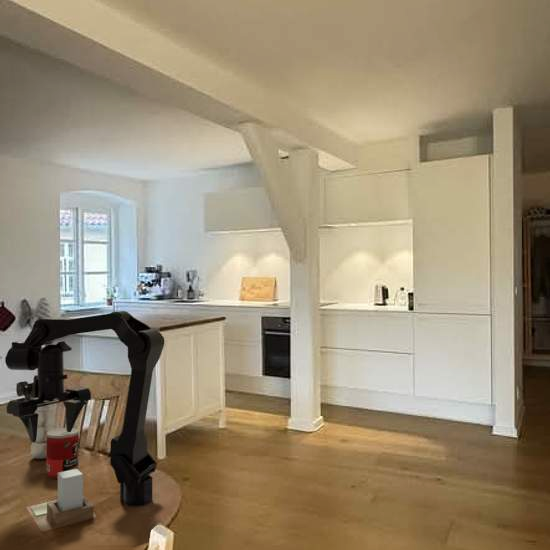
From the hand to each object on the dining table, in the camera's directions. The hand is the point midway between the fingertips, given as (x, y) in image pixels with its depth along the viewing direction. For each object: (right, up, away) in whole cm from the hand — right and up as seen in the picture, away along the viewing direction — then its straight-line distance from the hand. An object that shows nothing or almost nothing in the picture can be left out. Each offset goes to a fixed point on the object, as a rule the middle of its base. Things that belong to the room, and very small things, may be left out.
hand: (51, 436), depth 125 cm
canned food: (-3, -14, +14) cm, 20 cm away
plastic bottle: (-13, -14, +26) cm, 32 cm away
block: (+10, -13, -13) cm, 21 cm away
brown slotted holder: (+7, -14, -11) cm, 19 cm away
